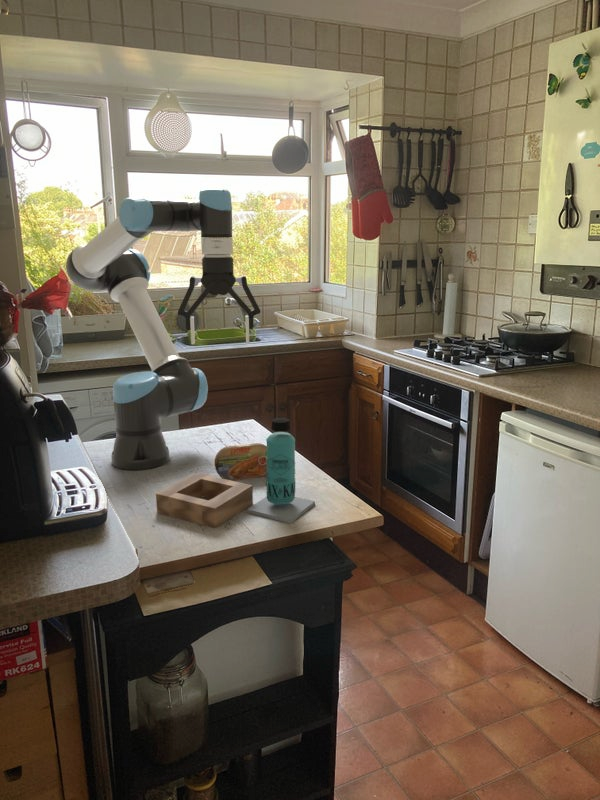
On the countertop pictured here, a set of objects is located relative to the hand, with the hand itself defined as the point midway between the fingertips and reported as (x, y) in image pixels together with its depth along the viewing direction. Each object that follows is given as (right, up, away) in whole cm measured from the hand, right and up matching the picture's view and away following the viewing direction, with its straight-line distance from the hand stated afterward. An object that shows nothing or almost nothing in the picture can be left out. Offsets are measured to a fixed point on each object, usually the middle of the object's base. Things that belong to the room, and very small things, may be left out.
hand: (220, 342), depth 159 cm
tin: (+6, -34, +1) cm, 34 cm away
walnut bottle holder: (-1, -39, -17) cm, 42 cm away
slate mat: (+16, -39, -18) cm, 45 cm away
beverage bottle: (+16, -38, -18) cm, 45 cm away
